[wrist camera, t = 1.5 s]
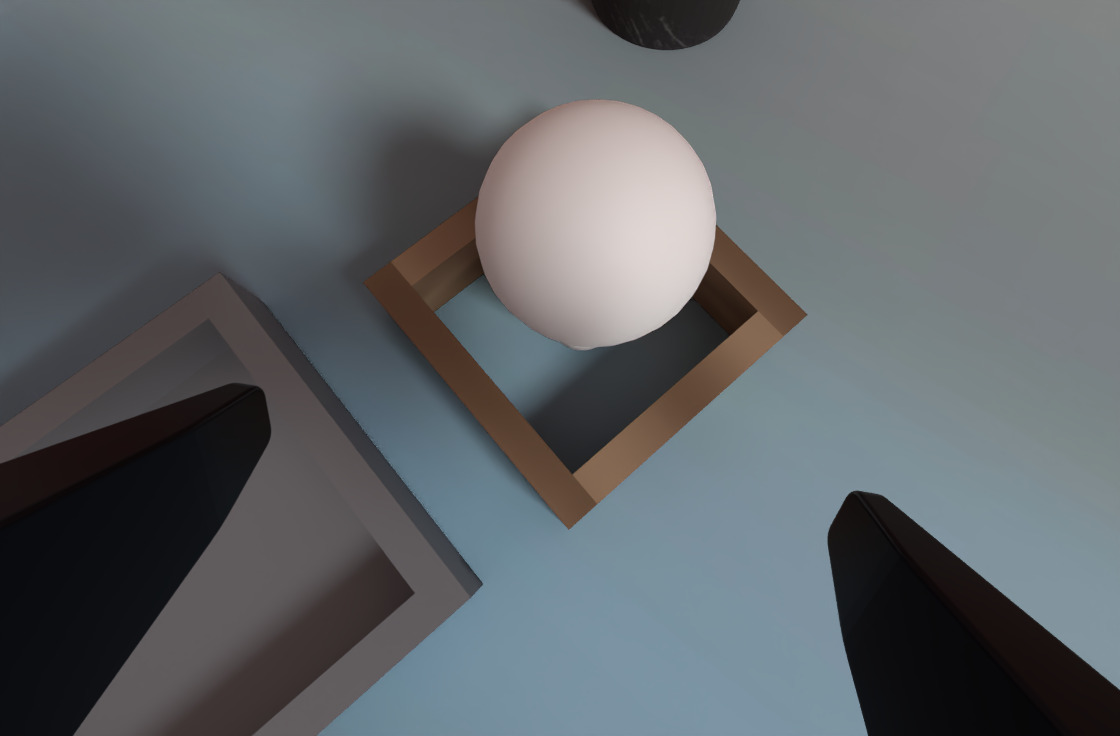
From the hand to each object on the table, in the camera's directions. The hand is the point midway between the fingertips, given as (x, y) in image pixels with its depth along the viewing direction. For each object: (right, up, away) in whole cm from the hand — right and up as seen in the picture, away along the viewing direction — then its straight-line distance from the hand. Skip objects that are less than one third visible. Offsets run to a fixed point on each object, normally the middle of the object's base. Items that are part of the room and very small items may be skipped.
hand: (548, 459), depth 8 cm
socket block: (+1, +3, +14) cm, 14 cm away
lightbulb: (+1, +3, +14) cm, 14 cm away
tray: (-13, -6, +11) cm, 18 cm away
